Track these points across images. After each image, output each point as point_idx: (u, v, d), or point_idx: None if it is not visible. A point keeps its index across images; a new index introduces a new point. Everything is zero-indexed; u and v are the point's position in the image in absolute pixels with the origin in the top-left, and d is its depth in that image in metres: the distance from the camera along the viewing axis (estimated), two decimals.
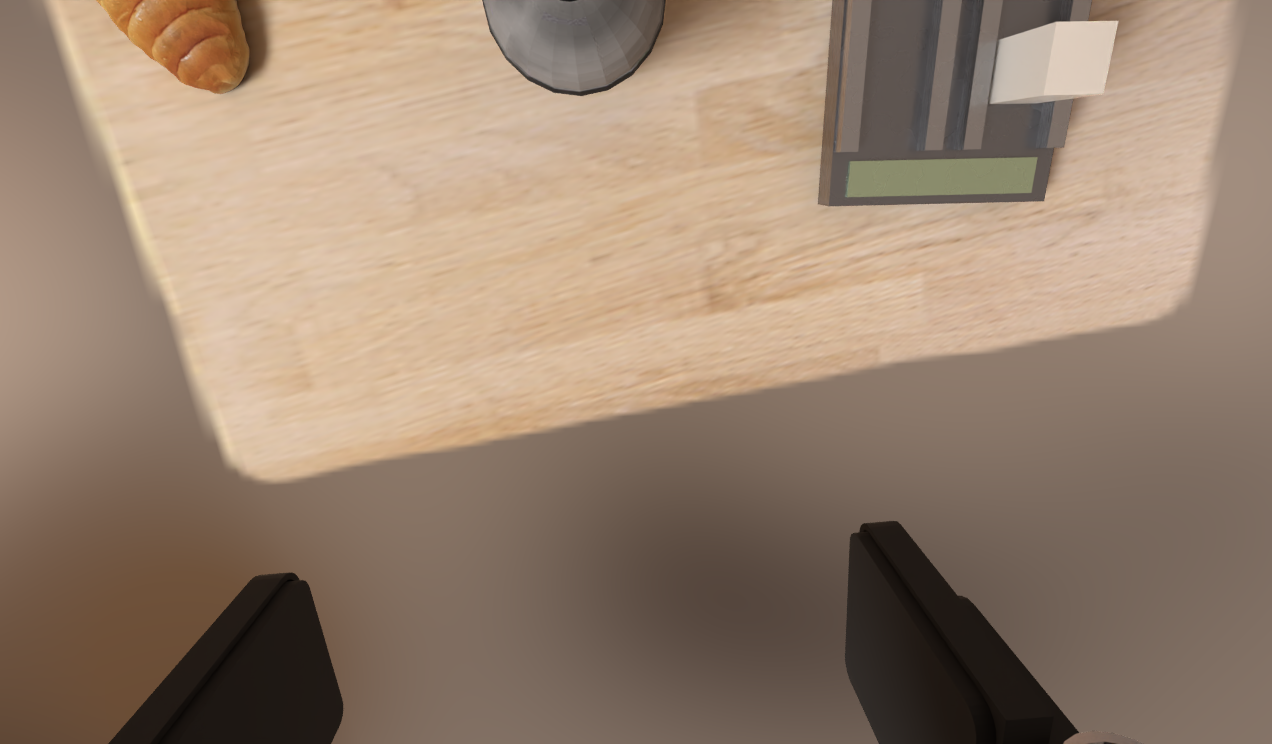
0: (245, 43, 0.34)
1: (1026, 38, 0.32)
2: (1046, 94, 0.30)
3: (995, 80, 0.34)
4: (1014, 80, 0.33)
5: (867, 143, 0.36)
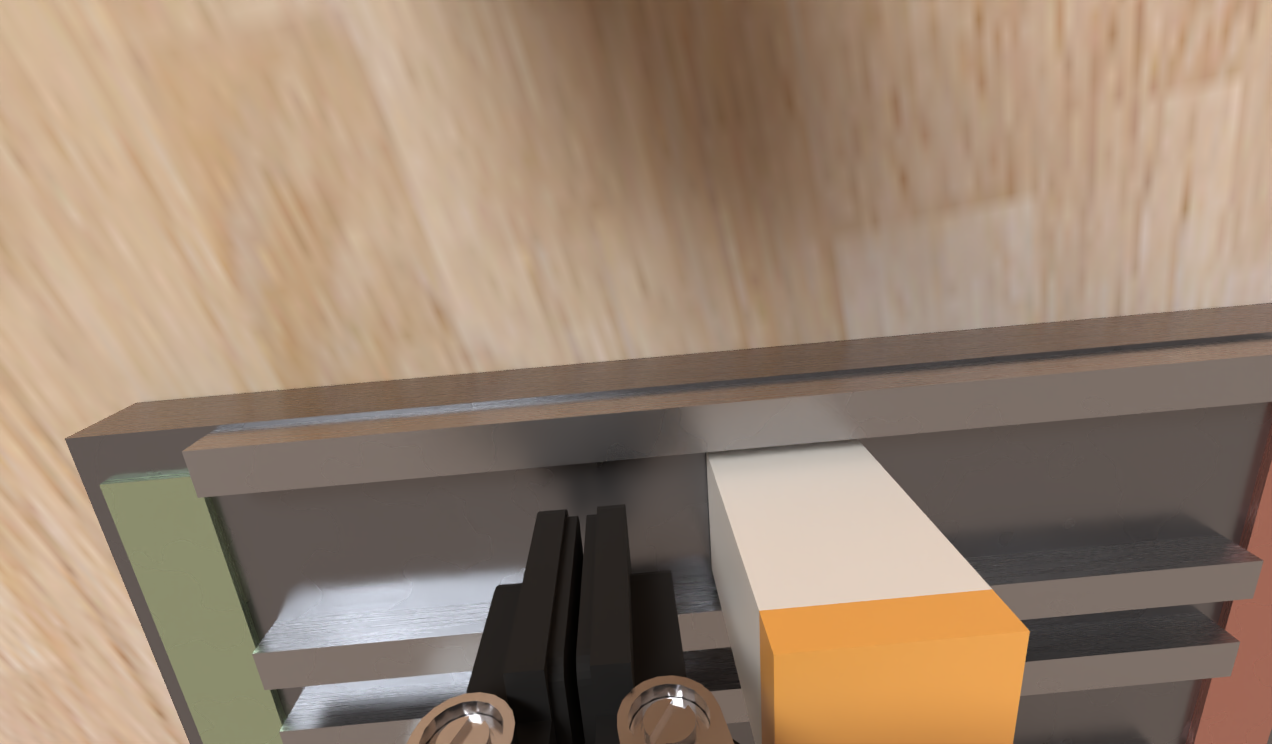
0: None
1: None
2: None
3: None
4: None
5: (260, 508, 0.13)
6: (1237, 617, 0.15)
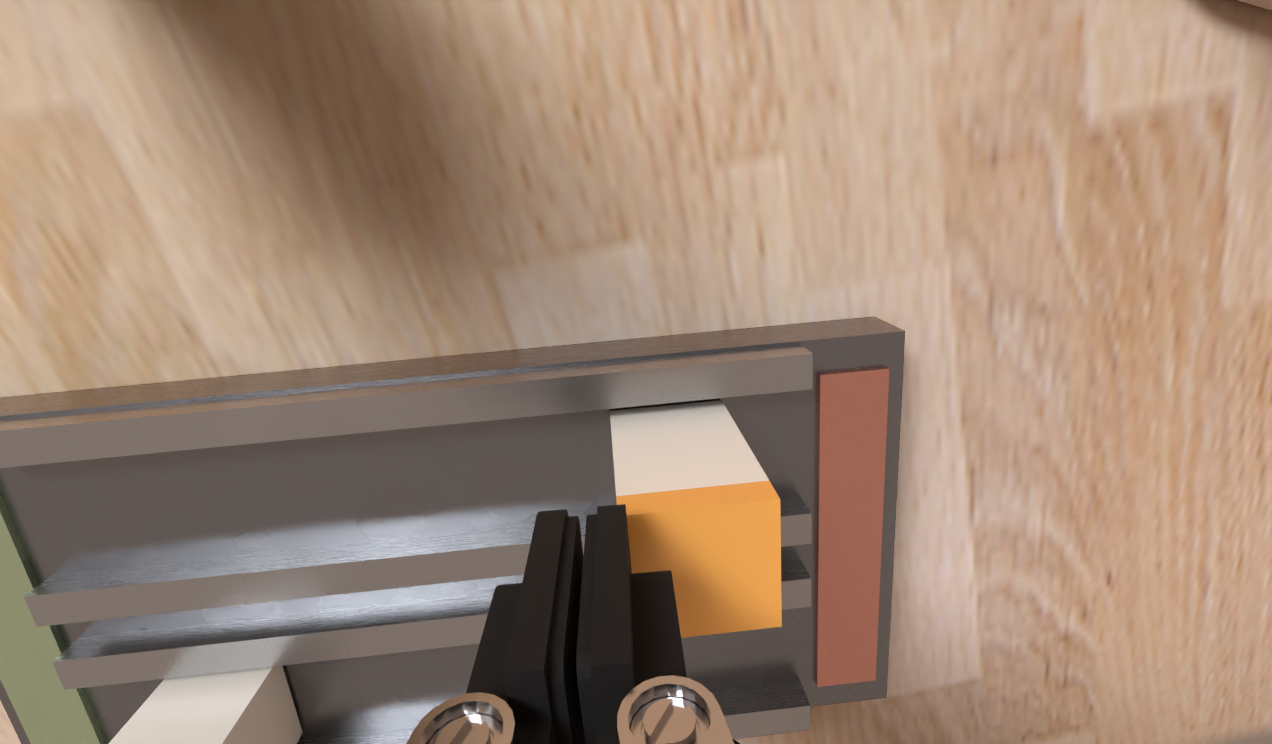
0: None
1: (213, 736, 0.16)
2: None
3: (199, 679, 0.19)
4: (153, 729, 0.17)
5: (33, 482, 0.17)
6: (825, 562, 0.19)
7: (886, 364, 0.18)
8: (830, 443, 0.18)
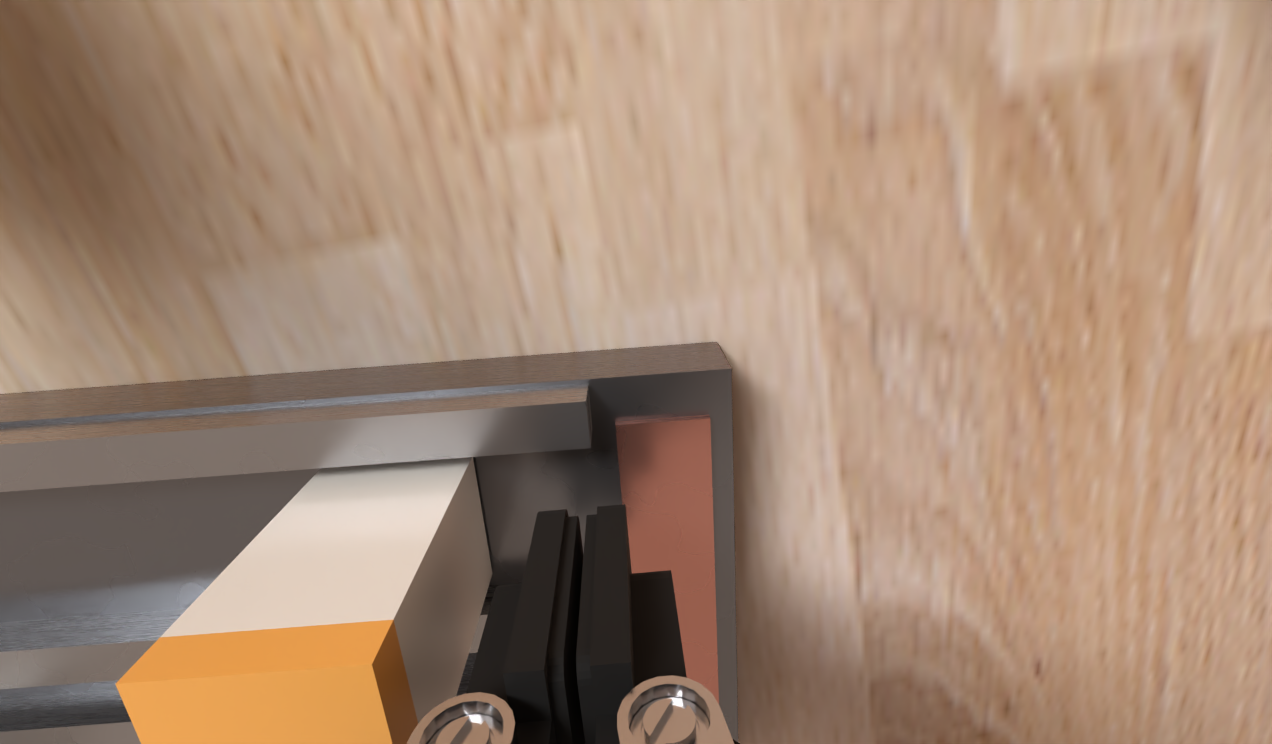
0: None
1: None
2: None
3: None
4: None
5: None
6: None
7: (708, 411, 0.13)
8: (637, 512, 0.14)
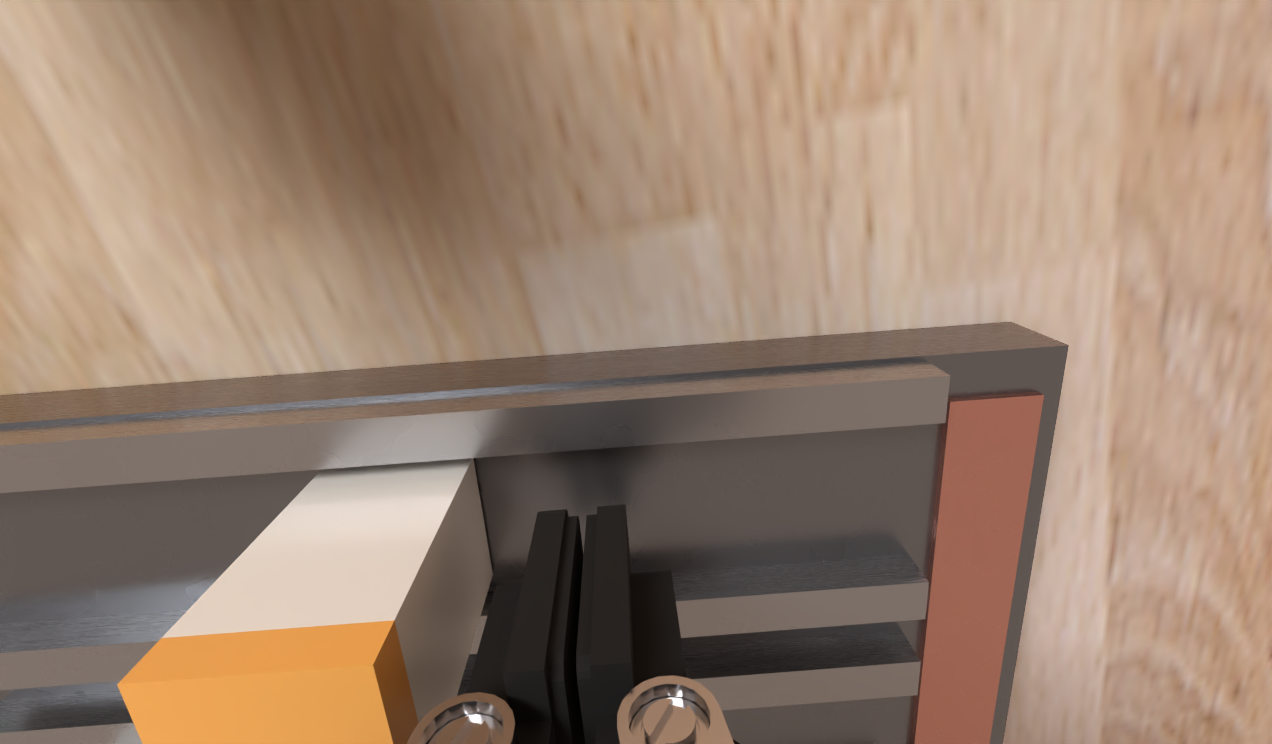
0: None
1: None
2: None
3: None
4: None
5: None
6: (934, 636, 0.15)
7: (1038, 388, 0.13)
8: (955, 489, 0.14)
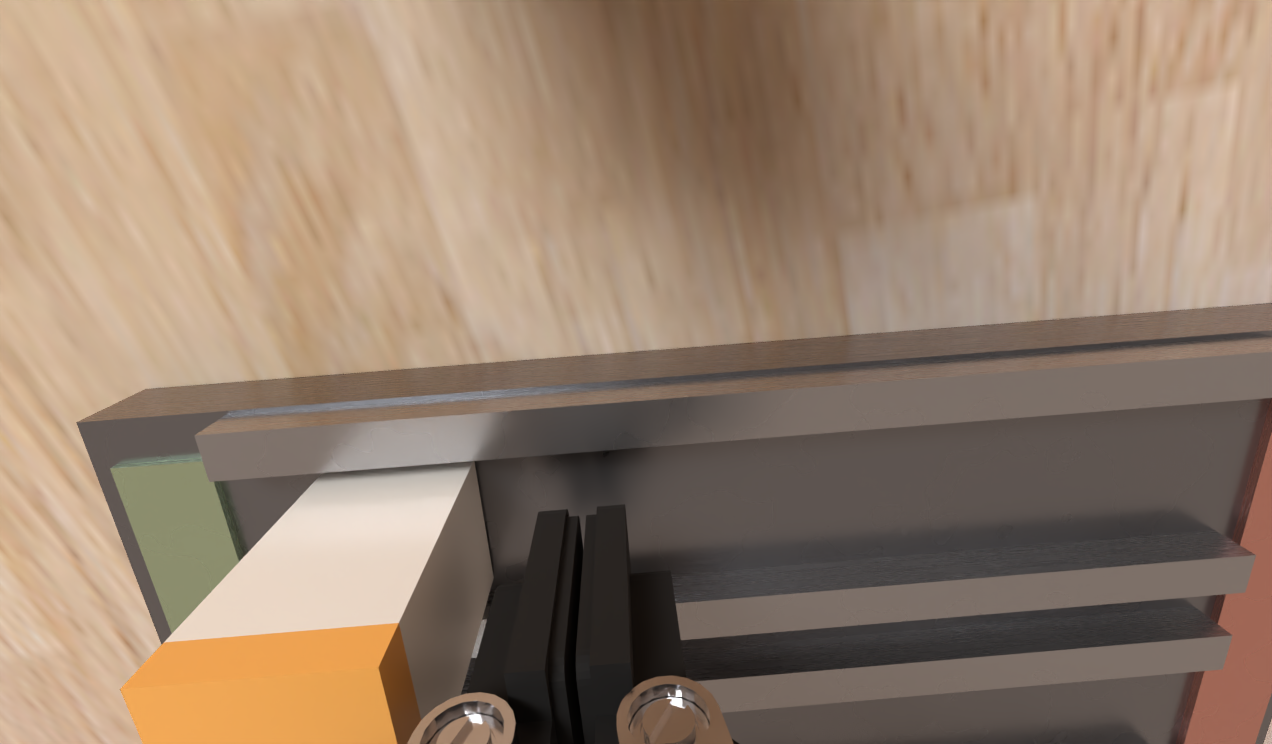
0: None
1: None
2: None
3: None
4: None
5: (269, 494, 0.13)
6: (1229, 612, 0.15)
7: None
8: None
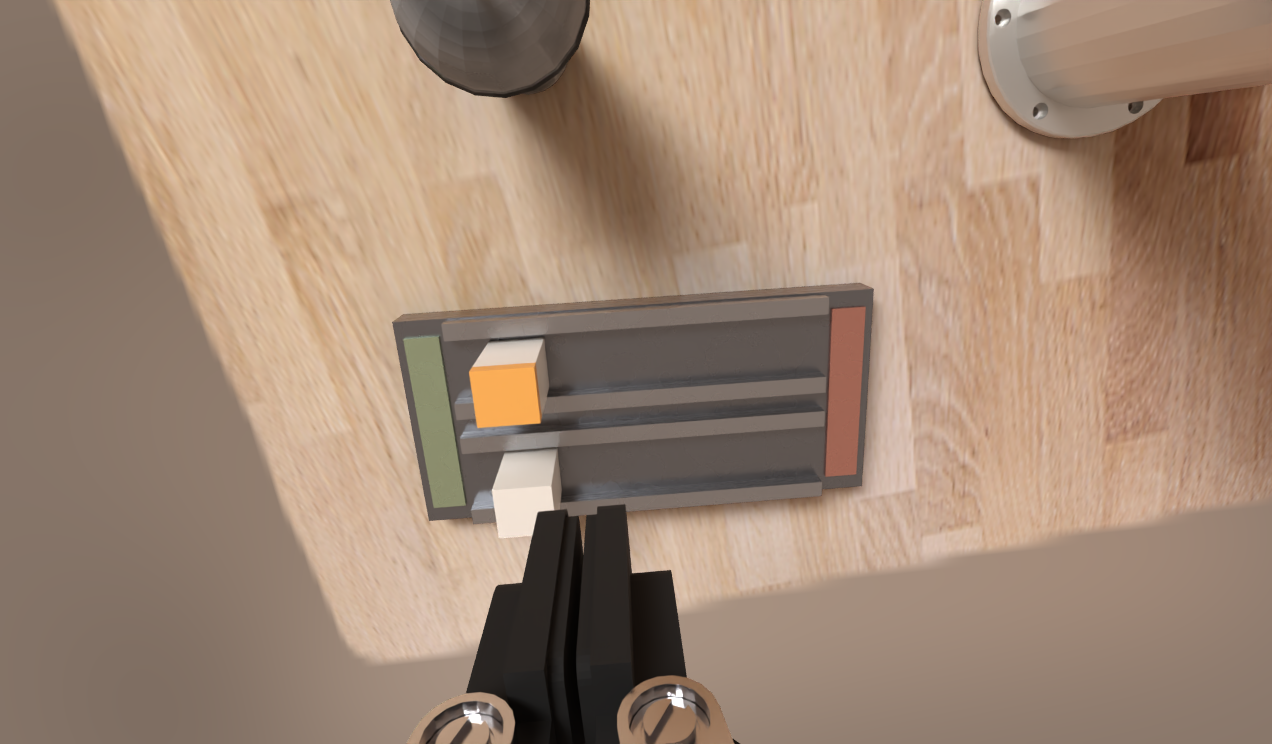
0: None
1: (547, 468, 0.36)
2: (493, 492, 0.34)
3: (522, 453, 0.38)
4: (516, 466, 0.36)
5: (458, 351, 0.36)
6: (831, 406, 0.38)
7: (864, 305, 0.37)
8: (836, 343, 0.37)
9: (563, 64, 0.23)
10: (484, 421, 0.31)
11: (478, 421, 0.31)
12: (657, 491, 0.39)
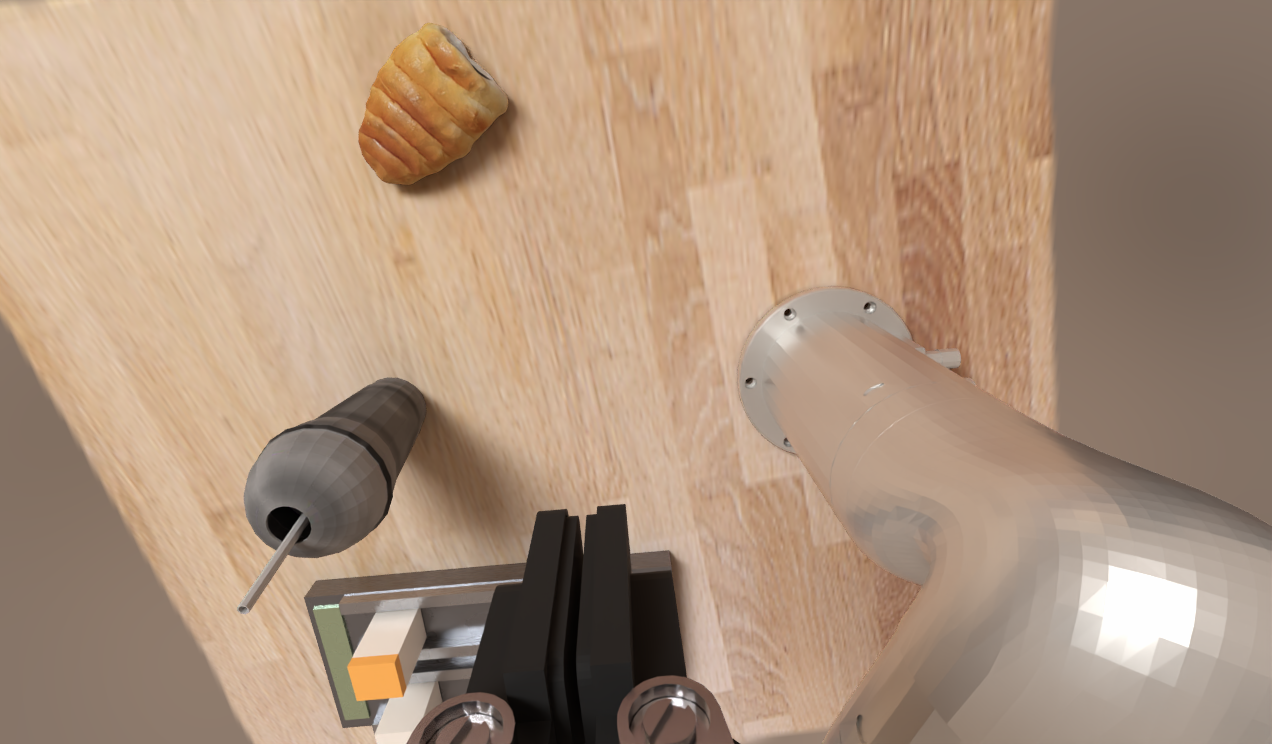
0: (416, 181, 0.39)
1: (422, 706, 0.47)
2: (375, 735, 0.45)
3: (408, 685, 0.49)
4: (399, 703, 0.48)
5: (355, 615, 0.48)
6: None
7: None
8: None
9: (377, 525, 0.34)
10: (361, 697, 0.43)
11: (357, 697, 0.43)
12: None
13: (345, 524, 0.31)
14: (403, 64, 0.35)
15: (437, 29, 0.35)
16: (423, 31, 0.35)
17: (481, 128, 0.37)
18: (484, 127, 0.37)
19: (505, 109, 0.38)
